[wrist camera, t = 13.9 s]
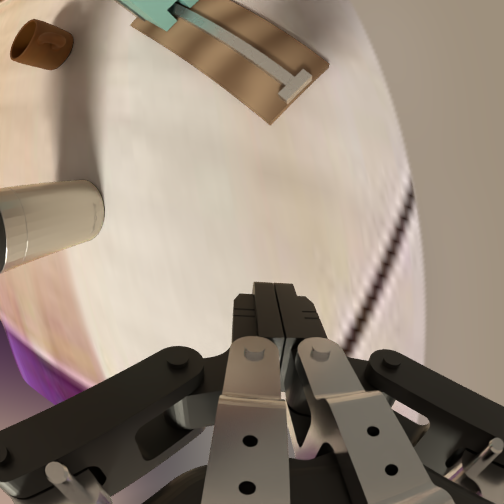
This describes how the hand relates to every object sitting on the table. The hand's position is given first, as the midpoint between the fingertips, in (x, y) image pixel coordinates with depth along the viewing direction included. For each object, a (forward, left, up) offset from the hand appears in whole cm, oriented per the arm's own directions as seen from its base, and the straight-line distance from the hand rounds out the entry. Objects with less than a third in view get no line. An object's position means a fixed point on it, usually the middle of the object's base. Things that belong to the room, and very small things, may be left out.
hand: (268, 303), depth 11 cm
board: (-14, +21, -22) cm, 34 cm away
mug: (-42, +21, -22) cm, 52 cm away
